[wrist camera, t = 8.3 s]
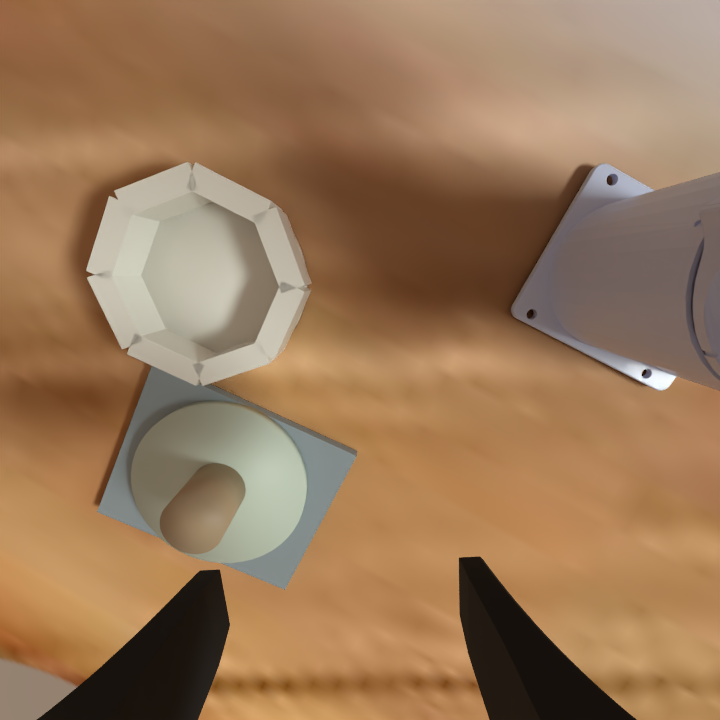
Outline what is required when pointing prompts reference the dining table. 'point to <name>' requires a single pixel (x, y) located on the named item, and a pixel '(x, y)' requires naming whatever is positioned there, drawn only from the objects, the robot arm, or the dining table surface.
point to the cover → (219, 481)
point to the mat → (319, 452)
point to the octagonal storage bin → (198, 274)
